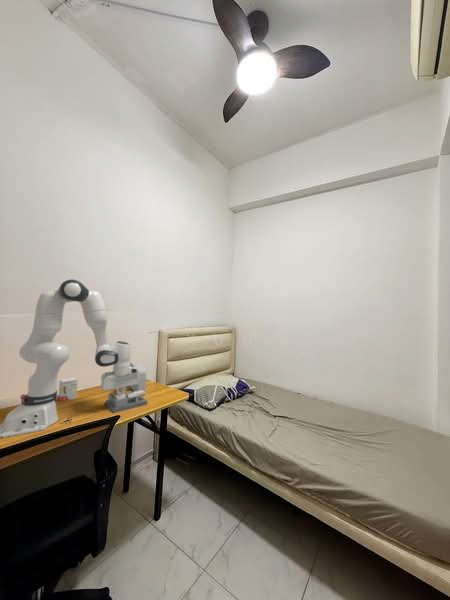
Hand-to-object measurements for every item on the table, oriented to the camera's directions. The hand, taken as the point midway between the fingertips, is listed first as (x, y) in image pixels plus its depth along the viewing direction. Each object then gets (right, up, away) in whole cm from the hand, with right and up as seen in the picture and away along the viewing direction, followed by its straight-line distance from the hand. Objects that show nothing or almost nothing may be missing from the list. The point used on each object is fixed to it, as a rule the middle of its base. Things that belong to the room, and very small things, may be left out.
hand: (120, 394), depth 133 cm
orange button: (-5, -3, +6) cm, 8 cm away
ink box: (-37, -7, +10) cm, 39 cm away
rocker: (+6, -2, +6) cm, 9 cm away
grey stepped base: (+1, -8, +6) cm, 10 cm away
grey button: (0, -5, 0) cm, 5 cm away
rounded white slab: (-1, -9, +30) cm, 32 cm away
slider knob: (0, -6, +11) cm, 13 cm away
